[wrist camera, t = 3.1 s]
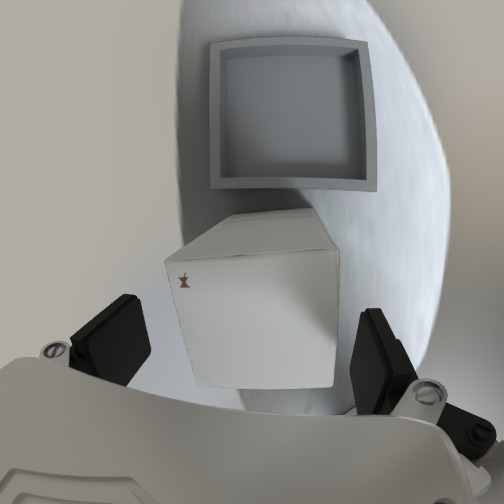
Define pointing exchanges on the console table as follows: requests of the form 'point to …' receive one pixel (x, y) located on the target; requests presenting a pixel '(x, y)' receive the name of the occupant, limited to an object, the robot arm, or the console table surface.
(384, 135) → the console table surface
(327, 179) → the holder tray
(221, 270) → the supplement box
